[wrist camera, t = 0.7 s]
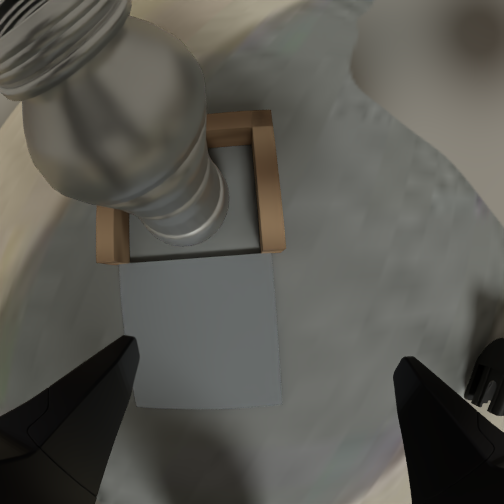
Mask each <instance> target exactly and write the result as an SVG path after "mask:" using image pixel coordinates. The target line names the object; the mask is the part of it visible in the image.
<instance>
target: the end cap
mask: <svg viewBox="0 0 504 504" xmlns="http://www.w3.org/2000/svg"><path fill="white" fill-rule="evenodd" d="M464 397H465V399H467V400H472V402H471V403H472V404H474V405H476V406H478V407H482V404H483V403H487V402H488V400H491V402H490V405H489V407H488V410H487V411H488V412H490V413H492V414H495V415H498V416H504V338H500V339H496V340H494V341H493V342H491V343H490V344H489V345H488V346H487V347H486V348H485V350H484V351H483V353H482V354H481V355H480V356H479V357H478V359H477V361H476V364H475V366H474V369H473V372H472V375H471V378H470V381H469V384H468V386H467V389H466V391H465V394H464Z"/></svg>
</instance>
